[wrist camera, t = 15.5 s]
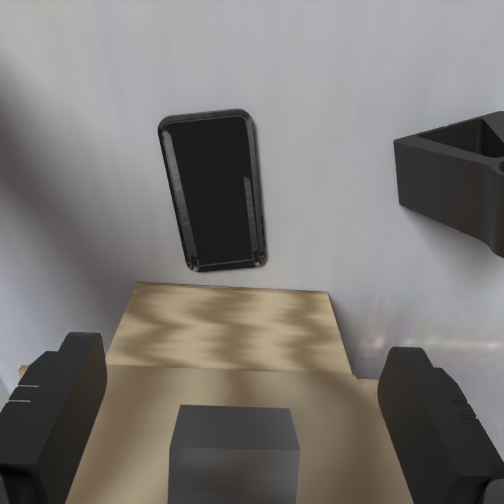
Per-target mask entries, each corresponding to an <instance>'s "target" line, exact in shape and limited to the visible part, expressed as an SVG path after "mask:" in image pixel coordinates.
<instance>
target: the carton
mask: <svg viewBox="0 0 504 504" xmlns="http://www.w3.org/2000/svg"><path fill="white" fill-rule="evenodd" d="M105 361H106V365H122V366H147V367H171V368H196V369H220V370H244V371H269V372H293V373H318V374H342V375H352V372H351V368H350V365H349V362H348V359H347V355H346V352H345V349H344V345H343V342H342V339H341V336H340V332H339V329H338V326H337V323H336V319H335V316H334V313H333V309H332V306H331V303H330V300H329V296H328V293H327V292H319V291H300V290H281V289H262V288H243V287H224V286H205V285H187V284H168V283H149V282H136V284H135V286H134V289H133V291H132V294H131V296H130V299H129V301H128V303H127V306H126V308H125V311H124V313H123V316H122V318H121V321H120V323H119V326H118V328H117V330H116V333H115V335H114V338H113V340H112V343H111V345H110V348H109V350H108V353H107V355H106V357H105ZM28 367H29V365H22V366H21V367H20V369H19V371H18V372H19V375H20V379H21V378H22V376H23V375H24V373H25V372H26V370H27V368H28ZM357 380H358V381H359V383H360V384H361V386H362V388H363V389H364V391H365V392H366V394H367V395H368V397H369V398H370V400H371V401H372V403H373V404H374V406H375V407H376V409H377V410H378V412H379V413H380V415H381V416H382V418H383V415H382V412H381V410H380V407H379V403H378V397H377V388H378V383H379V380H375V379H357ZM383 419H384V418H383Z"/></svg>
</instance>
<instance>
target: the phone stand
mask: <svg viewBox="0 0 504 504" xmlns="http://www.w3.org/2000/svg"><path fill="white" fill-rule="evenodd" d="M394 150H395V161H396V172H397V183H398V194H399V204H401V205H403V206H405V207H408V208H410V209H412V210H414V211H417V212H419V213H421V214H423V215H426V216H428V217H430V218H432V219H435V220H437V221H439V222H441V223H444V224H446V225H448V226H450V227H452V228H455V229H457V230H459V231H461V232H464V233H466V234H468V235H470V236H473V237H475V238H477V239H479V240H481V241H483V242H484V243H486V244H487V245H488V246H489V247H490V248H491V250H492V251H493V252H494V253H495V254H496V255H498V256H500V257H502V258H504V111H498V112H494V113H491V114H487V115H484V116H480V117H476V118H473V119H469V120H465V121H462V122H458V123H454V124H451V125H448V126H446V127H444V126H443V127H440V128H436V129H432V130H429V131H425V132H421V133H418V134H414V135H410V136H407V137H403V138H399V139H396V140H394Z"/></svg>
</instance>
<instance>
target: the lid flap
mask: <svg viewBox="0 0 504 504" xmlns="http://www.w3.org/2000/svg"><path fill="white" fill-rule="evenodd" d="M106 367H107V386H106V391H105V395H104V398H103V401H102V403H101V406H100V409H99V412H98V414H97V417H96V420H95V423H94V426H93V428H92V431H91V434H90V437H89V439H88V442H87V445H86V448H85V450H84V453H83V456H82V459H81V461H80V464H79V467H78V470H77V472H76V475H75V478H74V481H73V483H72V486H71V489H70V492H69V494H68V497H67V500H66V503H65V504H414V503H413V500H412V497H411V494H410V492H409V489H408V486H407V483H406V480H405V477H404V475H403V472H402V469H401V466H400V463H399V460H398V458H397V455H396V452H395V449H394V446H393V444H392V441H391V438H390V435H389V432H388V429H387V427H386V424H385V421H384V419H383V418H382V416H381V415H380V413H379V412H378V410H377V409H376V407H375V406H374V404H373V403H372V401H371V400H370V398H369V397H368V395H367V394H366V392H365V391H364V389H363V388H362V386H361V384H360V383H359V381H358V380H357V378H356V377H355V375H342V374H318V373H293V372H269V371H244V370H220V369H196V368H171V367H147V366H122V365H106Z"/></svg>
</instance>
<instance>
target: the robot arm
mask: <svg viewBox="0 0 504 504" xmlns="http://www.w3.org/2000/svg"><path fill="white" fill-rule="evenodd" d="M106 386H107V367H106V361H105V354H104V348H103V342H102V337H101V334H100V333H84V332H70V333H68V335H67V336H66V338H65V340H64V341H63V343H62V345H61V347H60V349H59V350H58V352H55V351H46V352H45V353H44V354H42V355H41V356H40V357H39V358H38V359H37V360H35V361H34V362H33V363H32V364H31V365H30V366H29V367H28V368H27V370H26V372H25V373H24V375H23V376H22V378H21V380H20V381H19V383H18V387H17V388H15V390H14V391H13V393H12V394H11V396H10V398H9V402H8V403H6V404H5V406H4V408H3V409H2V411H1V413H0V504H65V503H66V500H67V497H68V494H69V492H70V489H71V486H72V483H73V481H74V478H75V475H76V472H77V470H78V467H79V464H80V461H81V459H82V456H83V453H84V450H85V448H86V445H87V442H88V439H89V437H90V434H91V431H92V428H93V426H94V423H95V420H96V417H97V414H98V412H99V409H100V406H101V403H102V401H103V398H104V395H105V391H106ZM377 397H378V403H379V407H380V410H381V412H382V415H383V418H384V421H385V424H386V427H387V429H388V432H389V435H390V438H391V441H392V444H393V446H394V449H395V452H396V455H397V458H398V460H399V463H400V466H401V469H402V472H403V475H404V477H405V480H406V483H407V486H408V489H409V492H410V494H411V497H412V500H413V503H414V504H504V462H503V460H502V459H501V457H500V455H499V454H498V452H497V450H496V448H495V447H494V445H493V443H492V442H491V440H490V438H489V437H488V435H487V433H486V431H485V430H484V428H483V426H482V425H481V423H480V421H479V420H478V419H476V414H475V413H474V411H473V409H472V408H471V406H470V404H468V403H467V399H466V397H465V396H464V394H463V392H462V391H461V389H460V387H459V386H458V384H457V383H456V382H455V381H454V380H453V379H452V378H451V377H450V376H449V375H448V374H447V373H446V372H445V371H444V370H443V369H442V368H433V366H432V364H431V362H430V360H429V358H428V357H427V355H426V353H425V351H424V350H423V349H421V348H413V347H392V348H391V350H390V352H389V354H388V357H387V360H386V363H385V366H384V368H383V371H382V374H381V377H380V380H379V383H378V388H377Z"/></svg>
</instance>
